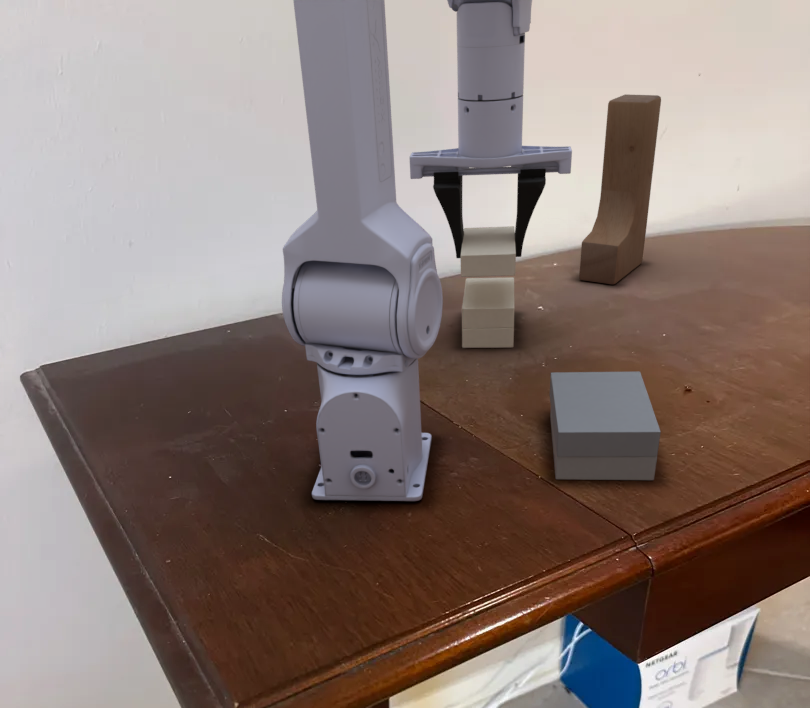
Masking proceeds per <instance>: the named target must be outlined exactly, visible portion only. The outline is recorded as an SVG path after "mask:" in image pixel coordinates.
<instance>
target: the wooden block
mask: <svg viewBox="0 0 810 708" xmlns="http://www.w3.org/2000/svg"><path fill="white" fill-rule="evenodd" d="M661 104H662V96H660V95H656V94H655V95H654V94H622V95H620V96H618V97H615V98H612V99H610V100H609V101H608V103H607V111H606V112H607V113H606V114H607V115H606V124H605V125H606V127H605V136H604V137H605V138H604V150H603V160H602V161H603V162H602V172H601V173H602V174H601V187H600V198H599V203H598V208H597V214H596V218H595V221H594V223H593V226H592V229H591V231H590V232H589V233H588V234H587V235H586V236H585V238H584V239H582V241H581V245H580V261H579V276H578V277H579V280H580V281H586V282H591V283H600V284H606V285H616V284H617V283H618V282H619V281H621V280H622V279H623V278H624V277H626V276H627V275H629V274H630V273H631V272H632V271H634V270H635V269H636V268H637V267H639V266H640V265H641V264H642V263H643V258H644V251H645V243H646V233H647V227H648V219H649V218H648V217H649V210H650V209H649V208H650V199H651V189H652V182H653V174H654V164H655V155H656V148H657V139H658V130H659V121H660V113H661Z"/></svg>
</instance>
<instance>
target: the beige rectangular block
mask: <svg viewBox="0 0 810 708" xmlns="http://www.w3.org/2000/svg"><path fill="white" fill-rule="evenodd" d="M463 229H464V237H463V243H462V248H461V258H460V277H461V278H482V277H508V276H510V277H515V276H516V273H517V272H516V269H517V268H516V267H517V266H516V265H517V257H516V247H515V226H513V225H511V226H510V225H509V226H485V227H483V226H482V227H481V226H480V227H463Z"/></svg>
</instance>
